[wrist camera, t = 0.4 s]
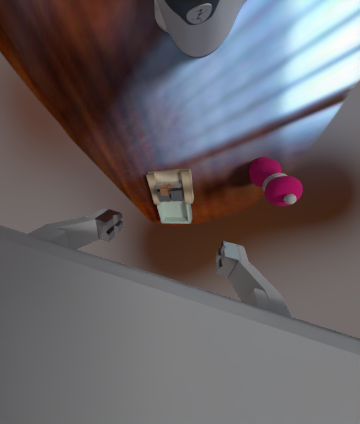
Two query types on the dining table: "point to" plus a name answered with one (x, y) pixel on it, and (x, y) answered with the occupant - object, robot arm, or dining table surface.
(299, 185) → the pepper mill
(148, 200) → the dining table surface
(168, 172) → the slot board
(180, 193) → the dark grey block
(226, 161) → the dining table surface
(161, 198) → the chip
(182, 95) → the dining table surface
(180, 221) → the tray
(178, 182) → the block
